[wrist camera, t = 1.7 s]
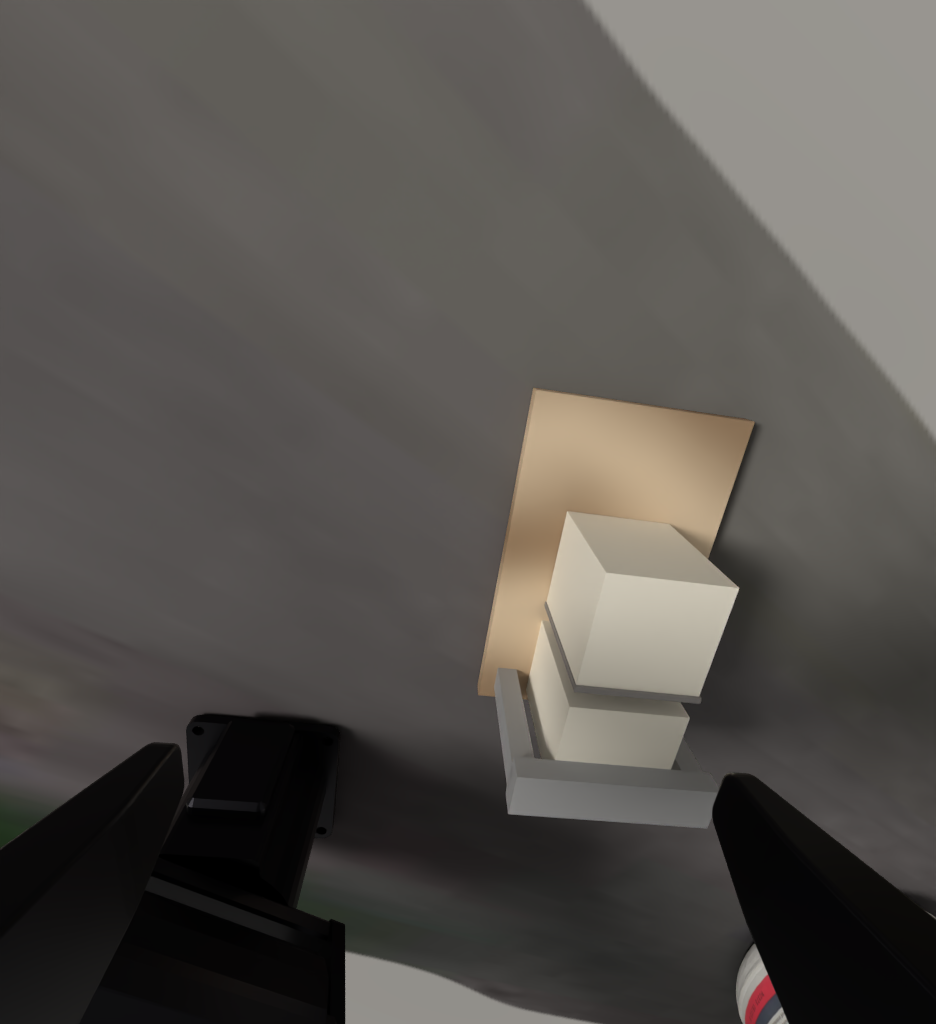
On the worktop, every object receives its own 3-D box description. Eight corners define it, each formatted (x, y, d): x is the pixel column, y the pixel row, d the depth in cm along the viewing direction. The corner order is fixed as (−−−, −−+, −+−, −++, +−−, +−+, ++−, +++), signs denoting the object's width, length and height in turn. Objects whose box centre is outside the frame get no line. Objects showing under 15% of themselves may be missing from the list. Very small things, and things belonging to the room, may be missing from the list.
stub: (642, 616, 21) (700, 704, 16) (544, 605, 21) (574, 692, 16) (670, 524, 20) (742, 589, 15) (565, 510, 19) (605, 574, 14)
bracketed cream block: (644, 706, 23) (707, 828, 17) (492, 692, 22) (508, 814, 17) (668, 633, 21) (744, 740, 16) (508, 616, 21) (530, 721, 15)
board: (651, 701, 23) (656, 711, 23) (477, 685, 23) (478, 694, 22) (745, 418, 19) (754, 421, 18) (533, 387, 18) (536, 389, 18)
